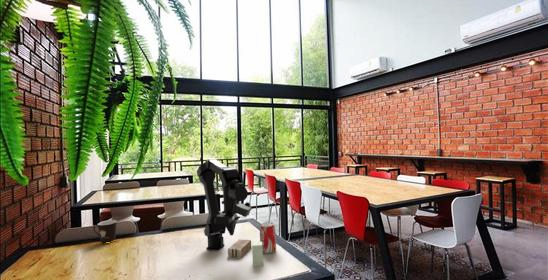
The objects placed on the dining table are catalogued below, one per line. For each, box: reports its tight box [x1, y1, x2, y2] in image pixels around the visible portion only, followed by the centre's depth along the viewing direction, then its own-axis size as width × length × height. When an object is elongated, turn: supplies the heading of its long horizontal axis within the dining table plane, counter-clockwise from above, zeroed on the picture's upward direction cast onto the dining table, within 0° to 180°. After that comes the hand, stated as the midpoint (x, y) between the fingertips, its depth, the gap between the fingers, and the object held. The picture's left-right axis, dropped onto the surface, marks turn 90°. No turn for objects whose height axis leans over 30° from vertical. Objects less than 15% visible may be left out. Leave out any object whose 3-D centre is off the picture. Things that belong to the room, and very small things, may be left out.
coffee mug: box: [92, 220, 118, 243], centre depth 150 cm, size 12×9×10 cm
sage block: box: [251, 241, 264, 267], centre depth 114 cm, size 4×4×8 cm
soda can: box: [259, 222, 277, 254], centre depth 126 cm, size 7×7×12 cm
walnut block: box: [227, 239, 252, 259], centre depth 127 cm, size 6×4×12 cm
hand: (231, 235), depth 119 cm, fingers closed
